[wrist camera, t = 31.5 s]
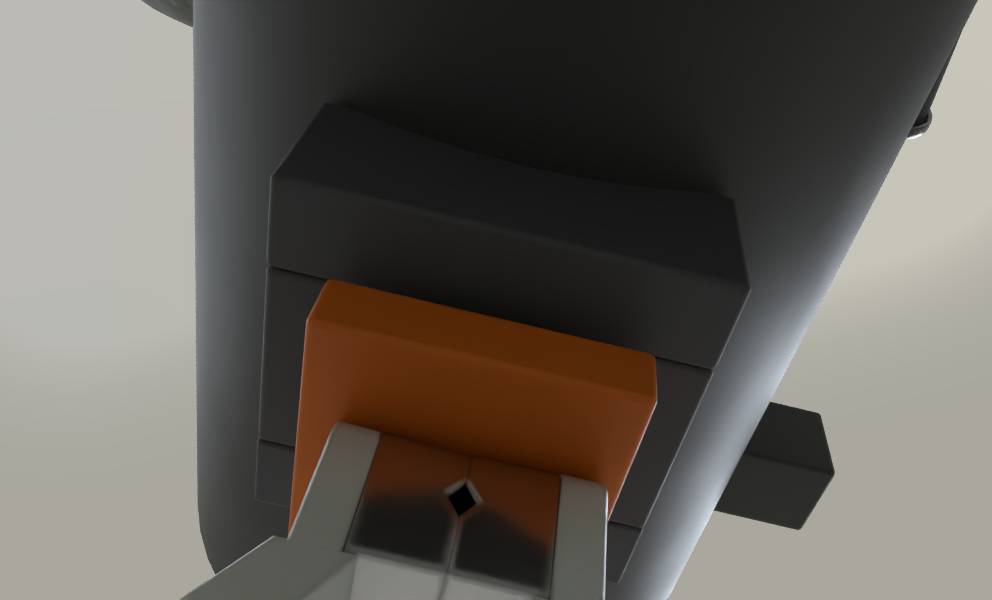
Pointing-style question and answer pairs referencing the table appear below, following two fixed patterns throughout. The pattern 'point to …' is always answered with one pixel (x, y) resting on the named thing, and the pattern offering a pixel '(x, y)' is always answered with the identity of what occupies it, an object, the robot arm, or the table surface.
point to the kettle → (548, 216)
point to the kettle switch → (469, 387)
